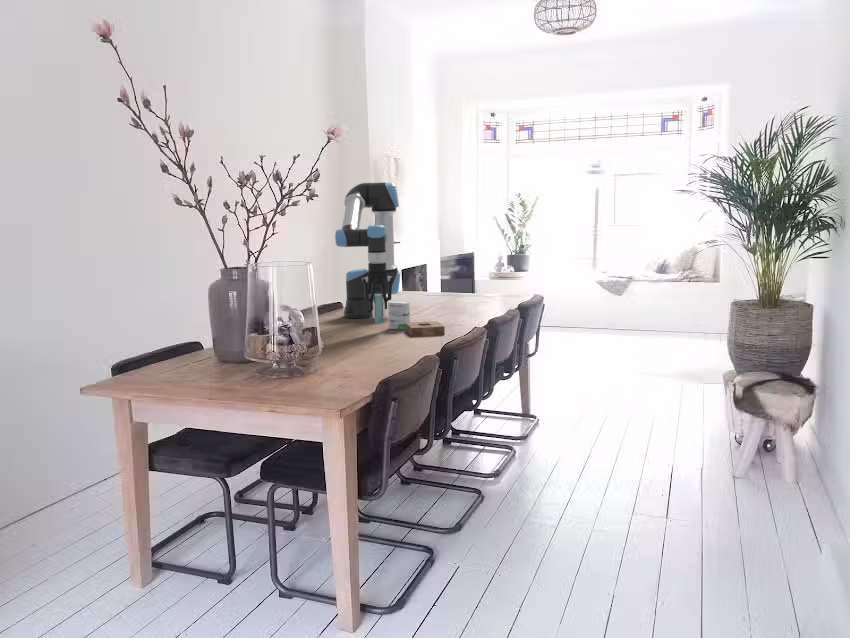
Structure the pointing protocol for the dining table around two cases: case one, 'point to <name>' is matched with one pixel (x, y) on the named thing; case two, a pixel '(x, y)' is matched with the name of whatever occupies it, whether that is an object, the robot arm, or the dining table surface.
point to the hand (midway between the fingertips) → (378, 316)
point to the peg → (378, 309)
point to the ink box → (398, 315)
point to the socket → (425, 328)
